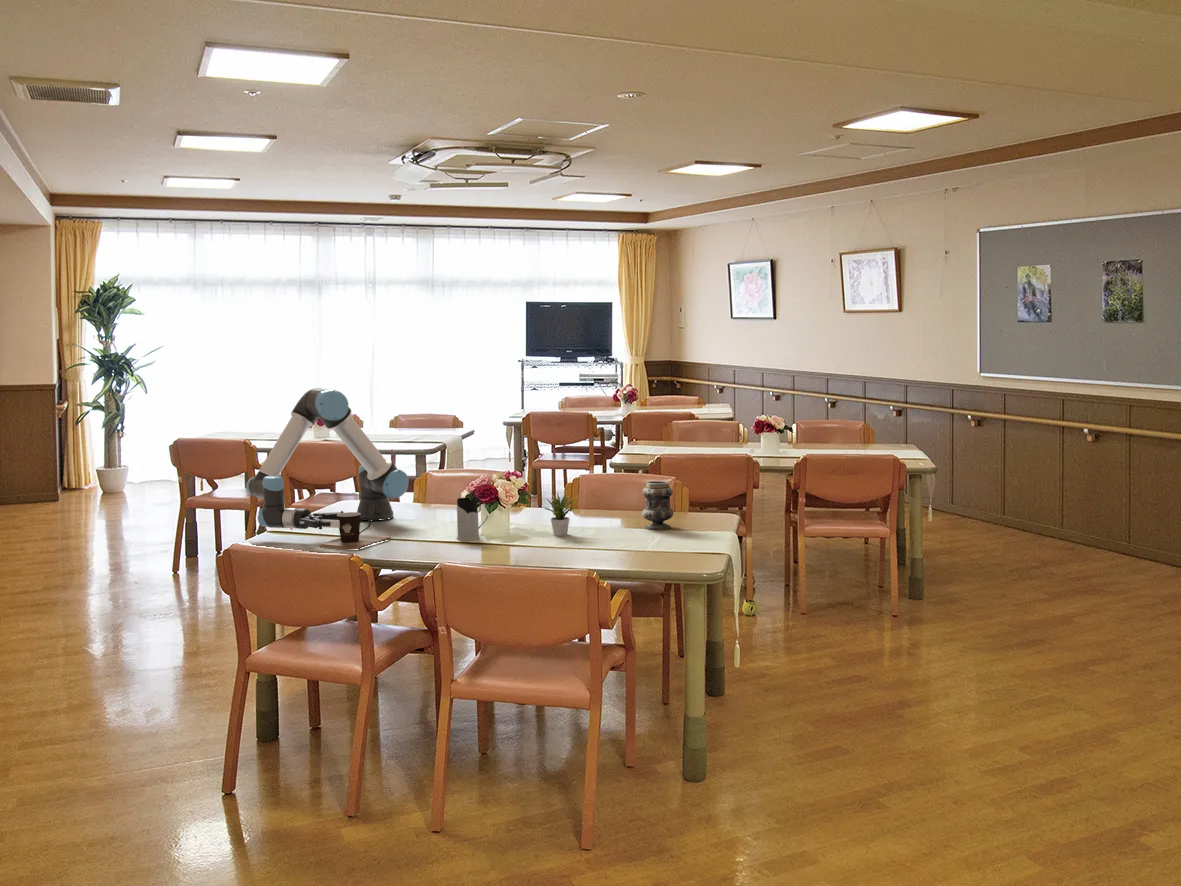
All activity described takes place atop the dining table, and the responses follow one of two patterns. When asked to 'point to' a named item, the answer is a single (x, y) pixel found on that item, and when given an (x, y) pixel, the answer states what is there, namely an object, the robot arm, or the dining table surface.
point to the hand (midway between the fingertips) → (348, 520)
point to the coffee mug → (350, 526)
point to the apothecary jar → (657, 504)
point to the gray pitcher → (468, 519)
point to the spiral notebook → (363, 541)
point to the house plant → (560, 515)
